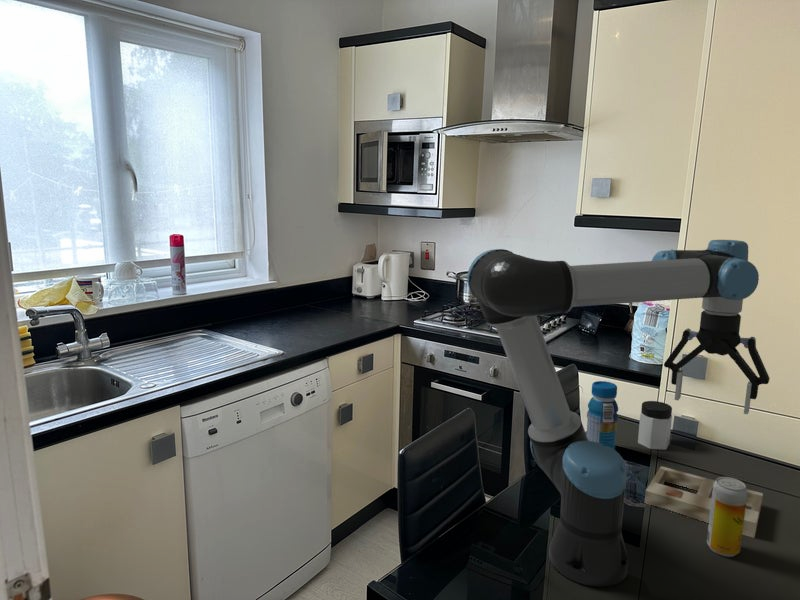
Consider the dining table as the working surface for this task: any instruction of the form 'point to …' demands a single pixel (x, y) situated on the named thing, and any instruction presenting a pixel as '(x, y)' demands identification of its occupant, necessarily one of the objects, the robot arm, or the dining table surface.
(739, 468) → the dining table surface
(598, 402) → the beverage bottle
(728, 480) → the beer can
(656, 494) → the socket board
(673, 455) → the dining table surface
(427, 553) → the dining table surface
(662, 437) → the jar
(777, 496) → the dining table surface
